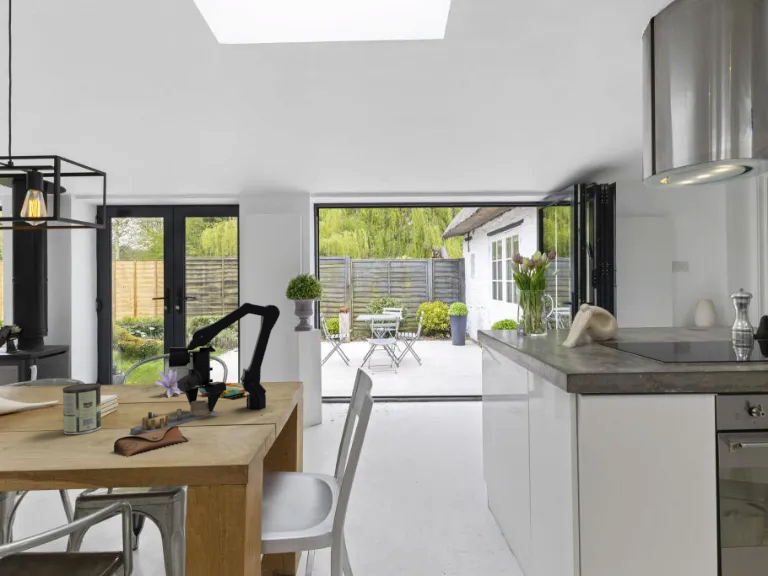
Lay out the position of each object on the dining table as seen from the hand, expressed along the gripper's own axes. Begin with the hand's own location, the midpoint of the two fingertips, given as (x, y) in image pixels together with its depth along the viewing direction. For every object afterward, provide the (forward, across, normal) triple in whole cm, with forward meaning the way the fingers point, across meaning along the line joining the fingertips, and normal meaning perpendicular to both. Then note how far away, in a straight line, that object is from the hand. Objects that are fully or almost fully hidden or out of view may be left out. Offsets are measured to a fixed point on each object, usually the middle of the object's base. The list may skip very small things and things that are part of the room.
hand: (201, 410), depth 161 cm
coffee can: (+3, -22, -28) cm, 36 cm away
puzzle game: (+3, -20, +28) cm, 35 cm away
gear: (+1, 0, 0) cm, 1 cm away
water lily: (+3, -42, +20) cm, 47 cm away
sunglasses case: (+3, +13, -27) cm, 30 cm away
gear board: (+3, 0, -9) cm, 9 cm away
